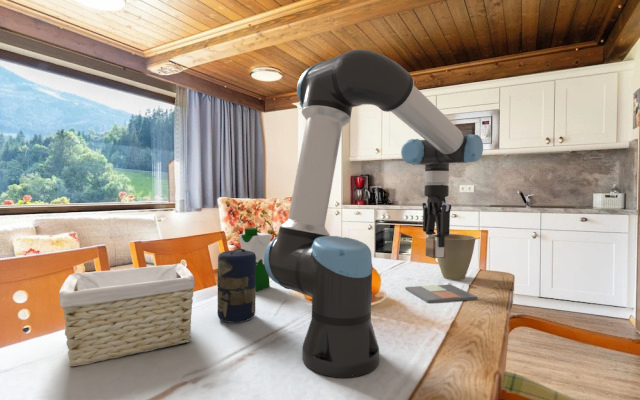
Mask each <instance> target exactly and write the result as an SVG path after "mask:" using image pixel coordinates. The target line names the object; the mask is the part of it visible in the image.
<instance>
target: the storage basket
mask: <svg viewBox="0 0 640 400" xmlns="http://www.w3.org/2000/svg"><path fill="white" fill-rule="evenodd" d="M195 286H196V283H195V276H194V274H193V273H192V272H191V271H190V269H189V268H187V267H186V266H185V265H183V263H175V264H164V265H163V264H162V265H153V266H152V265H150V266H143V267H142V266H141V267H134V268H124V269H113V270H99V271H89V272H75V273H72V274H69V275H68V276H67V277H66V278H65V280H64V282H63V283H62V285H61V288H60V290H59V291H58V292H59V294H58V296H59V306H60V308H62V309H63V315H64V316H63V317H64V318H63V319H64V326H65V329H64V335H65V336H66V339H67V340H66V346H67V349H68V351H67V356H68V365H69V366H70V367H77V366H85V365H90V364H94V363H95V362H97V363H98V362H103V361H106V360H111V359H118V358H122V357H125V356H131V355H133V354H138V353H145V352H146V353H147V352H150V351H154V350H157V349H163V348H167V347H171V346H178V345H179V344H181V345H182V344H185V343H188V342H190V341H191V332H192V331H191V329H192V326H191V324H192V311H193V307H192V306H193V296H194V288H195Z"/></svg>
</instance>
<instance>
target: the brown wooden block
mask: <svg viewBox="0 0 640 400" xmlns="http://www.w3.org/2000/svg"><path fill="white" fill-rule="evenodd" d="M445 250H446V239H444V257H435V237H430V238H427V237H426V238H425V257H429V258H431V259H437V258H445Z"/></svg>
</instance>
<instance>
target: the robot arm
mask: <svg viewBox="0 0 640 400" xmlns="http://www.w3.org/2000/svg"><path fill="white" fill-rule="evenodd" d="M296 85H297V86H296V97H297V99H299V102H298V103H299V105H300V107H301V115H302V116H303V117H304V119H305V121H306V122H305V126H304V133H303V138H302V144H301V148H300V153H299V158H298V164H297V170H296V175H295V178H294V185H293V191H292V196H291V202H290V206H289V210H288V211H289V212H288V217H287V220H286V221H285V222H283V223H282V224H280V225H279V228H278V234H277V236H275V237H274V238H272V240H270V243H269V244H268V246H267V248H266V251H265V255H264V265H265V269H266V272H267V274H268V275H269V279H271V280H272V281H273V282H274V283H276V284H278V285H279V286H281V287H283V288H284V289H286V290H292V291H295V292H298V293H300V294H303V295H305V296H307V297H309V298H310V297H311V319H310V323H309V326H308V329H307V331H306V334H305V337H304V341H303V343H302V348H301V350H302V353H301V355H302V357H301V358H302V359H301V360H302V362H303V364H304V365H305V367H307V368H308V369H309V370H311V371H313V372H315V373H317V374H320V375H322V376H327V377H333V378H355V377H360V376H364V375H367V374H369V373H371V372H373V371H374V370H376V368H377V367H378V365H379V363H380V348H379V344H378V341H377V337H376V334H375V330H374V327H373V324H372V290H373V289H372V288H373V287H372V285H373V269H374V267H373V262H372V261H373V260H372V257H373V256H372V250H371V248H370V247H369V246H368V245H367V244H366V243H364V242H362V241H361V240H357V239H354V238H350V237H346V236H345V237H343V236H342V237H341V236H338V235H331V234H330V233H329V231H328V230H327V228H326V221H327V215H328V211H329V210H328V209H329V206H330V205H329V204H330V198H331V193H332V189H333V188H332V187H333V181H334V176H335V170H336V166H337V165H336V164H337V159H338V154H339V153H338V152H339V148H340V142H341V136H342V131H343V128H344V127H345V126H346V125H347V124H349V123H350V121H351V117H352V112H353V111H352V110H353V108H354V107H358V106H363V105H372V106H376V107H378V108H379V109H380V110H381V111H383V112H386V113H387V112H388V113H389V112H391V113H392V114H393V115H394V116H395V117H397V118H398V119H400V121H402V122H403V123H404V124H405V125H407V126H408V127H409V128H410V129H412V130H413V131H414V132H415V133H417V134H418V135H419V136H420V137H422V139H419V138H415V139H414V138H411V139H408V140H406V141H405V142H404V143H403V145H402V146H401V150H400V151H401V152H400V153H401V154H400V155H401V158H402V160H403V161H404V163H407V164H408V165H412V166H415V165H416V166H417V165H418V166H420V165H421V166H424V184H426V185H424V194H423V195H424V196H425V197H427V199H426V202H422V210H423V211H422V231H423V232H424V233H425V234H426V238H430V237H435V257H444V239H445V237H446V236H449V234H450V224H451V223H450V221H451V210H452V205H451V204H448V203H447V201H446V197H447V198H448V197H449V192H450V191H449V190H450V189H449V188H450V187H449V185H448V184H449V181H450V173H449V172H450V164H467V163H475V162H478V161H480V159H481V158H482V156H483V152H484V143H483V140H482V138H481V136H480V135H478V134H470V133H469V134H464V133H463V132H462V131H461V130H460V129H459V128H458V127H457V126H456V124H454V123H453V122H452V121H451V120H450V119H449V118H448V117H447V116H446V115H445V114H444V113H443V112H442V111H441V110H440V109H439V108H438V107H437V106H436V105H435V104H434V103H433V102H432V101H431V100H430V99H428V97H427V96H426V95H424V94H423V92H421V91H420V90H419V89H418V87H416V86H415V81H414V77H413V76H412V75H411V74H410V73H409V72H408V71H407V70H406V69H405V68H404V66H403V67H402V65H401V64H399V63H397V62H396V61H395V60H392V59H391V58H389V57H388V56H385V55H383V54H381V53H380V52H376V51H373V50H370V49H363V48H361V49H352V50H348V51H346V52H344V53H342V54H340V55H336V56H334V57H332V58H329V59H326V60H324V61H319V62H317V63H315V64H313V65H311V66H310V67H309V68H307V69H305V70H304V72H303V73H302V74H301V76H300V77H299V80H298V81H297V84H296ZM435 228H436V229H435ZM435 230H436V232H435Z"/></svg>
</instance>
